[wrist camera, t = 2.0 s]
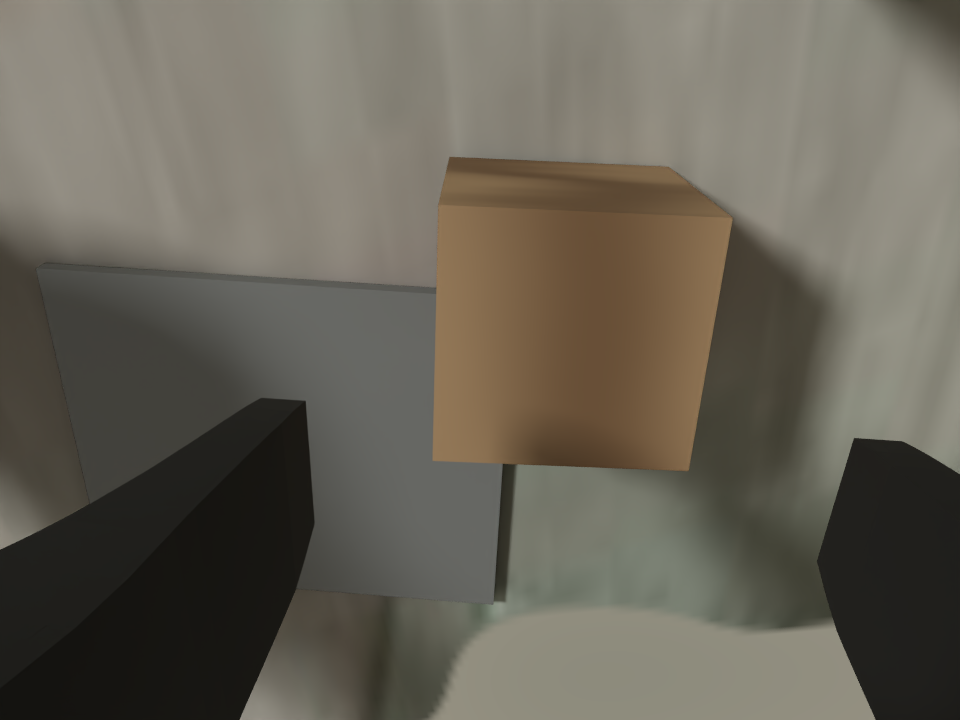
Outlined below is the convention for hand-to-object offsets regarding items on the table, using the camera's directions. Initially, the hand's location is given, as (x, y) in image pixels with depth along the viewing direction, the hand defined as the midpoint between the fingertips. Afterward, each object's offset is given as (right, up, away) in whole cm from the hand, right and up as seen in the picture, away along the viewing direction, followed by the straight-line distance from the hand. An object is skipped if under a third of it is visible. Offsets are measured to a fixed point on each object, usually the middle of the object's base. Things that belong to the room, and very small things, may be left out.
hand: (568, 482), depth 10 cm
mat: (-7, -1, +11) cm, 13 cm away
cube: (0, +4, +8) cm, 9 cm away
